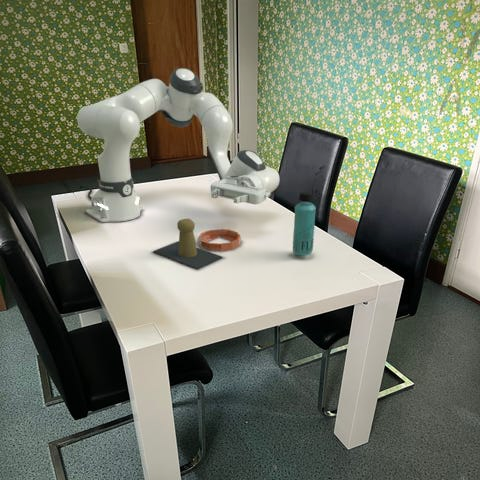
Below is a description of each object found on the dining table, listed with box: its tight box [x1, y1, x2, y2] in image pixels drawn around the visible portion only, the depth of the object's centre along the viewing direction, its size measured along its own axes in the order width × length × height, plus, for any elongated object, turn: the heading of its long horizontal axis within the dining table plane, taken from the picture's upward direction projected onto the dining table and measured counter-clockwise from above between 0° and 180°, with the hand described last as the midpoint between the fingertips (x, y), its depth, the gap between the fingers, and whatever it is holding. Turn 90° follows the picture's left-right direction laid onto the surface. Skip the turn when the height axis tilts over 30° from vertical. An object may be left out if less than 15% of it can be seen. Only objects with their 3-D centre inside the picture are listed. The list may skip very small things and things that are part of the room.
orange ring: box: [197, 228, 242, 252], centre depth 154 cm, size 14×14×2 cm
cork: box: [177, 218, 197, 257], centre depth 144 cm, size 6×6×11 cm
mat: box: [152, 240, 223, 270], centre depth 147 cm, size 20×11×1 cm, turn 49°
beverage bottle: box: [292, 190, 317, 256], centre depth 141 cm, size 6×7×20 cm
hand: (223, 198), depth 152 cm, fingers open, 8 cm apart
